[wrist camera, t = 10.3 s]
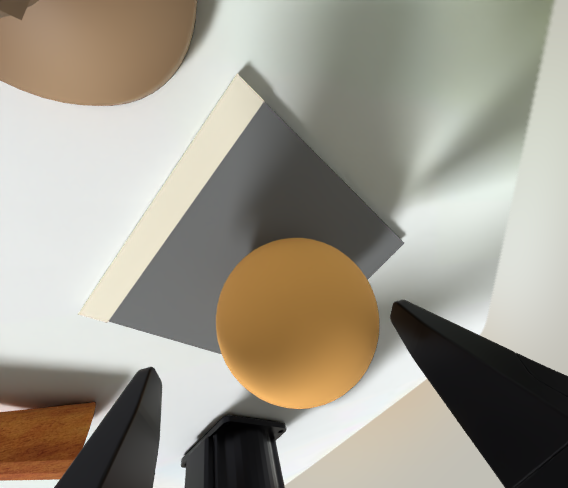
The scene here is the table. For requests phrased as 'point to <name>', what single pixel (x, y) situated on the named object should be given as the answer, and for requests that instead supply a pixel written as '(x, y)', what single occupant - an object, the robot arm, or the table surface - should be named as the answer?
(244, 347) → the rubber ball
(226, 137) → the mat
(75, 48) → the ball tee
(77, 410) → the kendama
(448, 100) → the table surface
